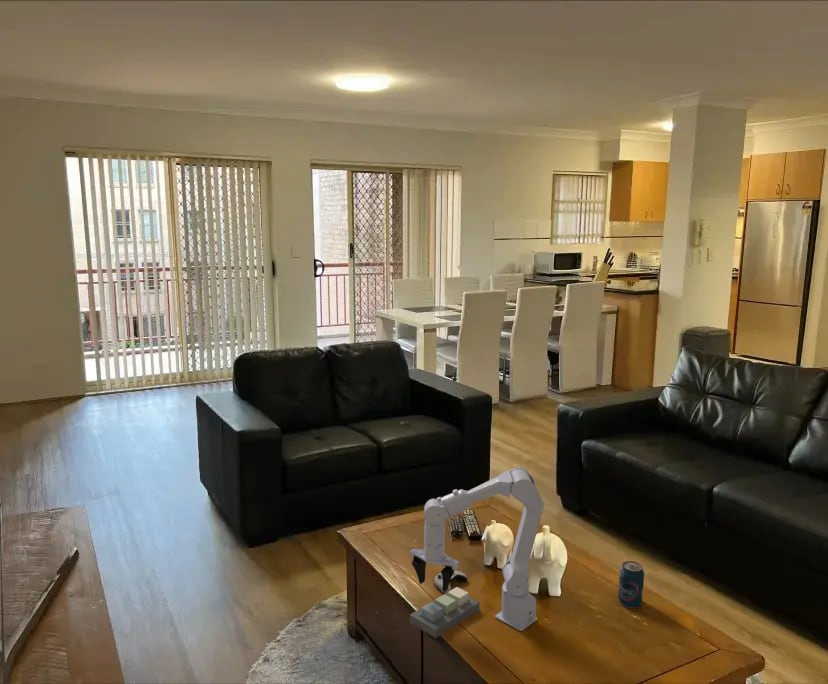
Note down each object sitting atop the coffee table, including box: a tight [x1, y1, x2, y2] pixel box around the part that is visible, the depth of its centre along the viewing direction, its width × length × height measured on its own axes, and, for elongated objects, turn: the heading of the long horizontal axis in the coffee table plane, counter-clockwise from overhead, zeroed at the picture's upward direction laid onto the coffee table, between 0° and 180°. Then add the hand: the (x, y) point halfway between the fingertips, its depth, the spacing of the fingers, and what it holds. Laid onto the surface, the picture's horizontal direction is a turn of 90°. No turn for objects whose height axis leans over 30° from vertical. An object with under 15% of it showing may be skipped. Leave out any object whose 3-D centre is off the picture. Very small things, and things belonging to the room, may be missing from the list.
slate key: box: [421, 601, 443, 623], centre depth 190 cm, size 4×4×4 cm
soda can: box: [617, 560, 645, 609], centre depth 201 cm, size 7×7×12 cm
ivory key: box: [448, 586, 469, 607], centre depth 198 cm, size 4×4×4 cm
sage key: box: [434, 593, 456, 615], centre depth 194 cm, size 4×4×4 cm
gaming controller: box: [433, 570, 469, 594], centre depth 211 cm, size 11×6×7 cm
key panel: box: [409, 593, 481, 639], centre depth 194 cm, size 10×19×3 cm, turn 135°
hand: (433, 585), depth 192 cm, fingers open, 7 cm apart
